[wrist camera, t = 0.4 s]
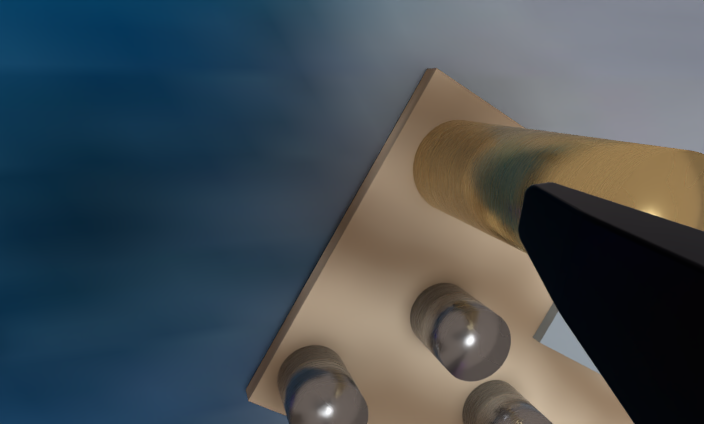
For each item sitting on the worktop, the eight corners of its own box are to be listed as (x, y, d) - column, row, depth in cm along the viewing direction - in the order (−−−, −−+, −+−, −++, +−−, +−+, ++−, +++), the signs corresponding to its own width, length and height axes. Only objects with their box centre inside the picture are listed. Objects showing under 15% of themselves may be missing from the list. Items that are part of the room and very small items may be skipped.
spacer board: (567, 516, 33) (579, 529, 32) (245, 389, 26) (248, 400, 25) (719, 265, 32) (735, 271, 31) (427, 69, 26) (436, 68, 25)
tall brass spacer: (468, 227, 27) (682, 335, 15) (396, 185, 25) (570, 269, 14) (514, 148, 26) (764, 198, 15) (443, 102, 25) (660, 118, 14)
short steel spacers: (564, 513, 32) (608, 564, 28) (264, 395, 26) (276, 441, 22) (642, 384, 31) (697, 419, 28) (357, 232, 25) (383, 254, 22)
